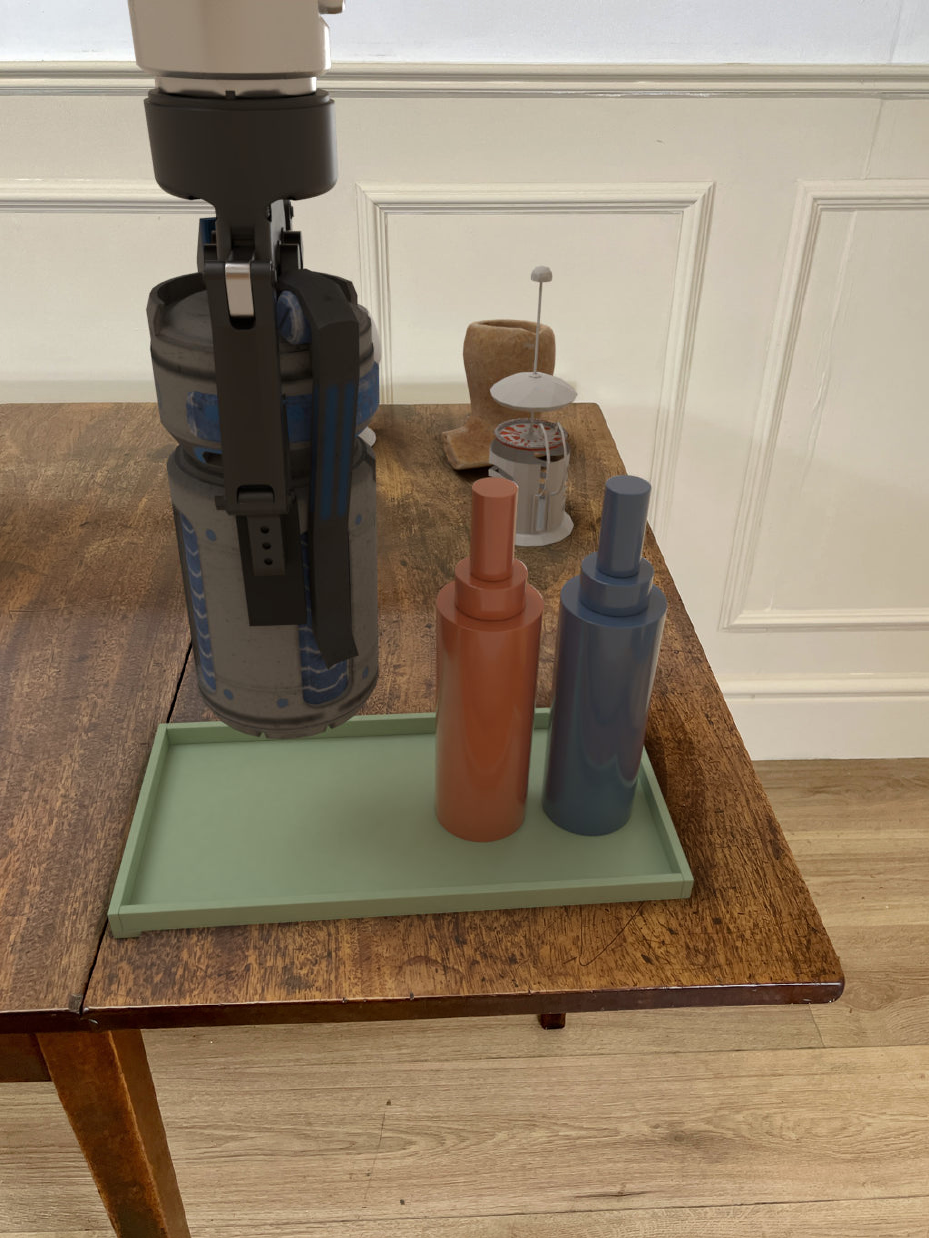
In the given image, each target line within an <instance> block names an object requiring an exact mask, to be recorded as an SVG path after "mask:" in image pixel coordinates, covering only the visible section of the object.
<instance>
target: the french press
mask: <svg viewBox="0 0 929 1238" xmlns="http://www.w3.org/2000/svg"><path fill="white" fill-rule="evenodd" d="M530 280H531V281H532V282H535V283H539V288H538V302H537V303H538V304H537V318H536V322H537V332H536V347H535V362H534V372H522V373H517V374H514V375H511V376H509V377H506V378H504V379H502V380H500V381H499V382H497V383H495V384H494V385H493V386H492V388H491V389H490V392H491V395H492V397H493V400H494V401H496V402H497V403H499V404H500V405H502V406H504V407H507V408H511V409H514V410H519V411H527V412H531V418H529V419H527V418H526V419H524V418H523V419H515V420H514V419H512V420H510V421H506V422H504V423H502V424H499V425H498V426H497V427H496V428H495V430H494V431H493V432H494V434H495V437H496V438H495V439H493V441H492V443H491V444H490V453H489V463H491V464H494V465H492V466H491V467H490V468H489V469H488V476H489V477H498V478H504V479H508V480H511V481H513V482H514V483H516V484H517V486H518V505H517V522H516V538H515V546H517V547H518V546H519V547H544V546H547V545H548V546H549V545H552V544H554V543H558V542H559V543H560V542H561V541H563V540H564V539H565V538H567V537H569V535H571V533H572V532H573V528H574V522H573V520H572V518H571V516H570V514H568V513H567V511H566V510H565V508H566V500H567V499H566V498H567V488H568V487H567V486H568V477H569V466H570V455H571V447H570V445H569V443H568V441H567V440H568V438H569V433H568V431H567V429H566V428H565V427H563V426H562V424H561V422H560V421H556V422H553V421H550V420H547V419H545V420H544V419H542V420H540V419H539V420H537V418H536V419H534V418H533V417H534V412H542V413H548V412H549V413H550V412H555V411H560V410H563V409H564V408H566V407H568V406H570V405H572V403H574V402H575V401H576V399H577V397H578V395H579V394H578V392H577V391H576V389H575V387H573V386H572V385H571V384H569V383H568V382H567V381H566V380H565V379H563V378H561V377H558V376H555V375H553V376H552V375H548V374H545V373H541V372H537V357H538V342H539V327H540V323H541V313H542V311H541V310H542V297H543V296H542V295H543V283H550V282H552V281H553V272H552V270H551V269H550V267H549V266H545V265H539V266H535V267H534V268H533V269H532V271H531V273H530ZM566 441H567V442H566ZM535 452H537V453H540V454H544V455H546V460H543V459H540V458H539V457H537V458H535V457H534V454H535ZM551 456H552V457H556V456H557V457H558V456H563V458H561V459H559V460H556V461H552V460H551ZM542 468H546V472H543V471H541V469H542ZM497 470H498V471H497ZM541 479H544V480H545V481H544V483H541ZM540 490H541V492H540Z"/></svg>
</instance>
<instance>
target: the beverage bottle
mask: <svg viewBox="0 0 929 1238" xmlns="http://www.w3.org/2000/svg"><path fill="white" fill-rule="evenodd" d="M215 222H216V216H211V217H200V218H199V221H198V232H197V234H198V235H197V247H196V248H197V249H196V269H197V271H196V272H192V273H186V274H182V275H178V276H175V277H172V278H169V279H166V280H164V281H162V282H159V283H157V284H156V285H155V286H153V287H152V288H151V290H150V292H149V293H148V297H147V304H146V307H145V313H146V319H147V325H148V326H147V327H148V331H149V339H150V341H149V343H150V345H149V352H150V359H151V367H152V374H153V380H154V386H155V393H156V400H157V407H158V414H159V421H160V423H161V425H162V426H163V427H164V429H165V430H166V431H167V433H169V434H170V436H171V437H172V439H174V440H175V441H176V442H177V444H178V445H177V446H176V447H175V448H174V450H173V451H172V452H171V453H169V455H168V457H167V460H166V463H165V465H166V472H167V478H168V479H167V480H168V486H169V493H170V500H171V501H170V502H171V507H172V515H173V521H174V527H175V528H174V529H175V536H176V542H177V550H178V556H179V564H180V569H181V577H182V584H183V591H184V598H185V605H186V611H187V619H188V620H187V621H188V627H189V632H190V633H189V635H190V638H191V646H192V647H191V648H192V653H193V654H192V655H193V660H194V668H195V675H196V681H197V688H198V694H199V696H200V697H201V699H202V702H203V703H204V705H206V707H207V708H208V709H209V710H210V711H211V712H212V713H213V714H214V715H215V716H216V717H217V718H218V719H219V721H222V722H223V723H224V724H226V725H228V726H229V727H231V728H232V729H234V730H237V731H239V732H242V733H244V734H247V735H251V736H256V737H260V736H261V734H262V732H263V733H264V735H265V737H266V738H270V739H294V738H302V737H307V736H313V735H316V734H319V733H323V732H326V729H327V726H329V727H330V728H331V729H333V728H335V727H337V726H340V725H342V724H343V723H345V722H346V721H348V720H349V719H351V718H352V717H354V716H357V714H358V713H359V712H360V711H361V710H362V709H363V708H364V706H365V705H366V703H367V701H368V700H369V698H370V697H371V695H372V693H373V692H374V690H375V689H376V686H377V684H378V681H379V676H380V674H379V673H380V671H379V667H380V666H379V664H380V663H379V661H380V660H379V602H378V601H379V596H378V595H379V593H378V592H379V591H378V531H377V530H378V527H377V525H378V523H377V521H378V519H377V518H378V517H377V461H376V452H375V451H374V449H373V448H372V446H370V445H369V444H368V443H367V442H365V441H364V440H363V439H362V438H361V437H359V436H358V435H360V434H361V433H362V432H363V430H364V429H365V428H366V427H369V425H370V424H371V422H372V420H373V418H374V416H375V414H376V412H377V410H378V408H379V406H380V403H381V402H380V401H381V399H380V364H378V363H377V362H375V361H374V347H373V343H372V323H371V318H370V317H369V316H368V315H367V314H366V313H365V312H363V311H362V310H361V309H360V308H359V307H358V304H359V303H358V302H359V300H358V293H357V290H356V288H355V286H354V283H353V281H351V280H349V279H347V278H344V277H341V276H338V275H334V274H330V273H327V272H322V271H321V272H320V271H314V270H311V269H308V268H303V269H296V270H287V271H284V272H283V273H282V274H281V275H280V276H279V277H278V278H277V284H275V286H274V288H275V290H276V297H279V299H278V301H277V304H276V310H277V322H278V328H279V329H278V336H279V352H280V368H281V384H282V395H283V394H285V393H286V400H283V399H282V401H283V405H284V404H286V410H287V422H288V433H289V442H290V457H291V482H292V489H294V491H295V495H297V501H298V513H299V524H300V536H301V547H302V559H303V571H304V582H305V594H306V605H307V624H305V625H276V626H249V618H248V610H247V602H246V595H245V587H244V579H243V571H242V563H241V556H240V548H239V540H238V532H237V524H236V517H235V516H228V513H226V510H217V509H216V506H215V500H214V495H225V485H224V473H223V461H222V448H221V436H220V424H219V411H218V399H217V387H216V375H215V362H214V350H213V338H212V326H211V318H210V311H209V304H208V297H207V289H206V284H204V283H203V276H202V272H203V270H204V244H211V232H212V231H216V224H215Z"/></svg>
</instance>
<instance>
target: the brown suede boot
mask: <svg viewBox="0 0 929 1238" xmlns="http://www.w3.org/2000/svg"><path fill="white" fill-rule="evenodd" d="M536 332H537V321H530V320H523V319H510V318H509V319H508V318H507V319H504V318H503V319H501V318H499V319H498V318H497V319H485V320H484V319H482V320H478V321H473V322H470V324H468V326H467V328H466V331H465V334H464V335H465V336H464V339H463V346H462V359H463V367H464V373H465V375H466V376H465V377H466V383H467V388H468V395H469V400H470V411H471V412H470V415H469V418H468V420H467V422H465V423H464V424H463V425H461V426H460V427H458V428H455V429H451V430H446V431H443V432H441V433H440V436H439V439H440V442H441V443H442V445H443V452H444V453H445V455H446V458H447V461H448V463H449V465H450V466H451V468H453V470H457V471H460V470H467V469H468V470H469V469H477V468H482V467H493V466H494V464H491V463H489V453H490V444H491V443H492V441H493V439H495V438H496V437H495V434H494V432H493V431H494V430H495V428H496V427H497V426H498V425H499V424H502V423H504V422H506V421H510V420H512V419H514V420H515V419H523V418H524V419H526V418H527V419H529V418H531V412H527V411H519V410H514V409H511V408H507V407H504V406H502V405H500V404H499V403H497V402H496V401H494V400H493V397H492V395H491V392H490V389H491V388H492V386H493V385H494V384H495V383H497V382H499V381H500V380H502V379H504V378H506V377H509V376H511V375H514V374H517V373H522V372H534V362H535V347H536ZM556 344H557V343H556V335H555V333H554V330H553V329H552V328H551V327H550V326H549V325H547V324H544V323H541V322H540V327H539V342H538V357H537V372H541V373H545V374H548V375H552V376H554V374H555V369H556V355H557V354H556V353H557V351H556V350H557V349H556V346H557V345H556ZM533 418H534V419H536V418H537V420H539V419H540V420H543V412H534V417H533ZM566 442H567V443H568V441H567V440H566ZM545 456H546V457H547V455H544V454H540V453H537V452H535V454H534V457H535V458H542V457H545Z"/></svg>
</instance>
